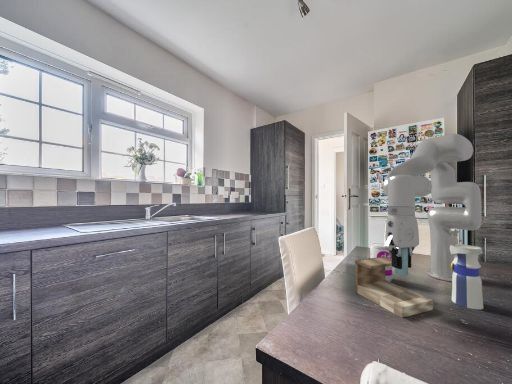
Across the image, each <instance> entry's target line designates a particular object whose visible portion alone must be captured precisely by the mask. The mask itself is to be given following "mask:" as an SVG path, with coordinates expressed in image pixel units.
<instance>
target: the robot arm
mask: <svg viewBox="0 0 512 384" xmlns="http://www.w3.org/2000/svg"><path fill="white" fill-rule="evenodd" d="M473 153H474V148H473V144H472V142H471V141H470V140H469V139H468V138H466V137H465V136H463V135H461V134H459V133H449V134H444V135H439V136H432V137H429V138H425V139H423V140H421V141H419V143H418V145H417V146H416V148H415V150H414V151H413V153H412V155H411V157H410V158H409V159H406V160H405V161H402V163H399V164H398V165H396V166H395V167H393V168H391V170H390V171H389V172H388V173H387V175H386V177H385V179H384V181H383V184H382V191H383V193H384V194H385V196H387V219H386V221H385V222H386V224H385V237H384V238H385V243H384V244H385V248H386V249H387V250H389V252H390V254H391V255H392V268H394V269H395V268H398V269H402V257H400V255H401V248H407V247H408V269H411V268H412V256H413V254H414V253H413V251H414V250H415V249H416V248H417V247H418V246H419V245H420V234H419V224H418V219H417V217H416V198H424V197H426V196H428V195H429V194H430V195H431V196H430V197H431V199H432V201H433V202H434V203H437V204H442V205H443V204H445V205H448V204H449V205H463V206H464V207H461V206H457V207H456V206H434V207H431V208H429V210H428V211H427V215H426V216H427V221H428V224H429V225H428V226H429V232H430V233H429V234H430V236H429V237H430V238H429V239H430V243H429V244H430V269H427V270H426V274H427V275H428V276H429V277H432V278H434V279H438V280H441V281H445V282H446V281H447V282H452V275H453V271H452V270H451V263H452V261H453V260H454V258H455V254H451V252H450V245H452V246H455V245H456V244H459V238H458V237H457V236H453V237H452V235H453V233H452V232H451V231H453V230H454V229H455V228H456V230H462V231H463V230H465V231H477V230H479V229H480V228H481V226H482V219H483V218H482V194H481V189H480V188H481V187H480V186H479V185H478V184H477V183H475V182H473V181H462V182H461V181H460V182H459V181H458V182H457V180H456V170H455V169H454V167H452V165H450V163H454V162H463V161H467V160H469V159H471V158H472V156H473ZM428 173H429V175H430V179H429V178H428V177H426V176H424V175H426V174H428ZM455 247H456V246H455ZM395 248H397V251H396V249H395Z"/></svg>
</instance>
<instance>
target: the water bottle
mask: <svg viewBox="0 0 512 384" xmlns="http://www.w3.org/2000/svg"><path fill="white" fill-rule="evenodd" d="M451 232H452V233H453V235H452V237H453V236H457V238H458V237H459V236H458V234H459V232H460V230H458V229H456V228H455V229H453V230H452V231H451ZM455 246H456V247H455ZM455 246H452V245H450V252H451V254H455V258H454V260H453V261H452V263H451V270H452V271H453V275H452V281H451V282H452V285H451V286H452V287H451V301H452V303H454V304H456V305H458V306H460V307H462V308H463V307H464V308H466V309H471V310H483V309H484V298H483V282H482V277H481V276H480V269H481V267H482V265H481V264H480V262H479V255H482V254H483V253H484V251H483V249H482V247H480V246H476V245H469V244H463V243H462V244H461V243H460V244H459V243H458V244H456V245H455Z"/></svg>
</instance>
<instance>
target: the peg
mask: <svg viewBox="0 0 512 384" xmlns="http://www.w3.org/2000/svg"><path fill="white" fill-rule="evenodd" d="M395 249H396V251H397V248H395ZM400 257H402V269H398V268H395V267H394V274H396V275H399V276H409V268H408V247H407V248H401V255H400Z"/></svg>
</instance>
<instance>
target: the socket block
mask: <svg viewBox="0 0 512 384" xmlns="http://www.w3.org/2000/svg"><path fill="white" fill-rule="evenodd" d="M354 263H355V265H354V266H355V267H354V269H355V270H354V271H355V278H354V279H355V293H357V294H358V295H360V296H361V297H364V298H366V299H367V300H369V301H371V302H373V303H374V304H377V305H378V306H380V307H382V308H384V309H386V310H387V311H389V312H391V313H393V314H394V315H396V316H398V317H400V318H401V319H402V318H405V317H406V318H407V317H410V316H414V315H417V314H421V313H425V312H430V311H433V310H434V299H432V298H428V297H426V296H424V295H421V294H420V293H417V292H414V291H412V290H410V289H408V288H405V287H403V286H400V285H398V284H396V283H392V282H391V281H390V282H388V281H386V280H385V267H387V266H392V260H391V259H388V258H385V257H378V258H370V257H369V258H364V259H355V262H354Z"/></svg>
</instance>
